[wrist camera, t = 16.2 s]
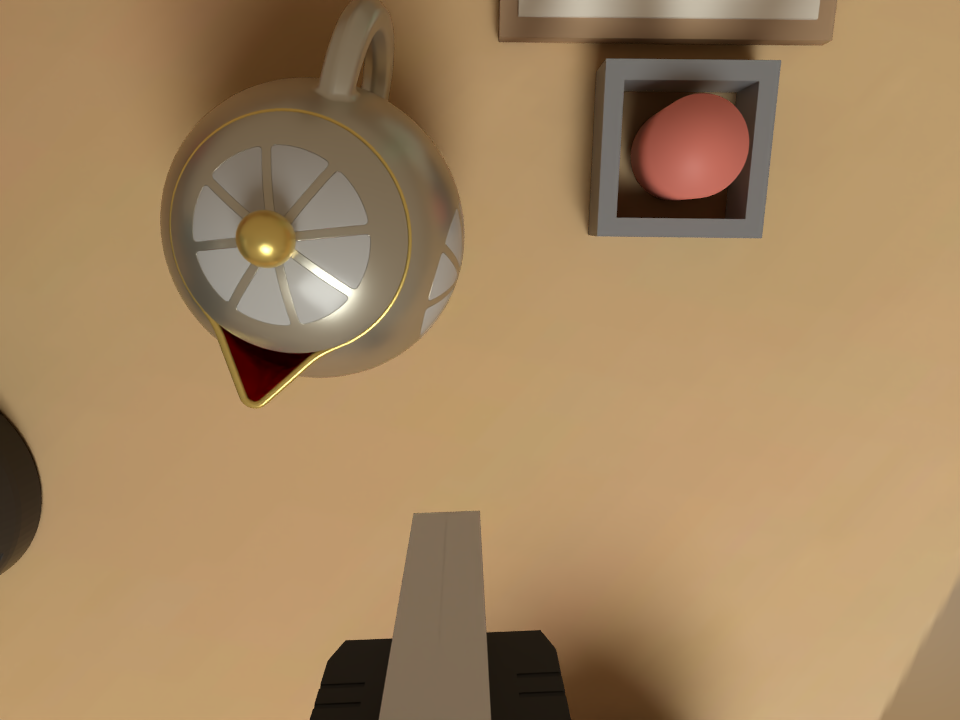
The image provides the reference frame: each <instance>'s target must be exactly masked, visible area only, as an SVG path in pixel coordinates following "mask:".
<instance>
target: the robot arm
mask: <svg viewBox="0 0 960 720" xmlns="http://www.w3.org/2000/svg"><path fill="white" fill-rule="evenodd" d="M40 513H41V489H40V483H39V478H38V474H37V470H36V468H35V465H34V462H33V460H32V457H31V455H30V453H29V451H28V449H27V447H26V445H25V444H24V442H23V441H22V439H21V437H20V436H19V435H18V433H17V432H16V430H15V429H14V428H13V427H12V425H11V424H10V423H9V422H8V421H7V420H6V419H5V418H4V417H3V416H2V415H1V414H0V575H1V574H2V573H4V572H5V571H6V570H8V569H9V568H10V567H12V566H13V565H14V564H15V563H16V562H17V561H18V560H19V559H20V558H21V557H22V555H23V554H24V553H25V552H26V550H27V549H28V547H29V546H30V544H31V542H32V540H33V538H34V536H35V533H36V530H37V527H38V524H39V519H40ZM310 720H571V717H570V713H569V708H568V703H567V699H566V696H565V689H564V685H563V680H562V676H561V671H560V666H559V661H558V657H557V652H556V649H555V647H554V646H553V645H552V644H551V643H550V641H549V640H548V639H547V638H546V636H545V635H544V634H543V633H542V632H541V630H535V631H511V632H488V633H486V617H485V599H484V580H483V562H482V543H481V525H480V511H461V512H435V513H414V514H413V520H412V526H411V532H410V538H409V544H408V550H407V556H406V562H405V568H404V573H403V579H402V585H401V591H400V597H399V603H398V609H397V615H396V621H395V627H394V632H393V638H392V639H370V640H346V641H345V642H344V643H343V644H342V645H341V646H340V647H339V649H338V650H337V651H336V652H335V653H334V654H333V655H332V657H331V658H330V659H329V660H328V662H327V665H326V668H325V672H324V675H323V678H322V681H321V687H320V689H319V691H318V694H317V698H316V701H315V707H314V709H313V711H312V714H311V717H310Z"/></svg>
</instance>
